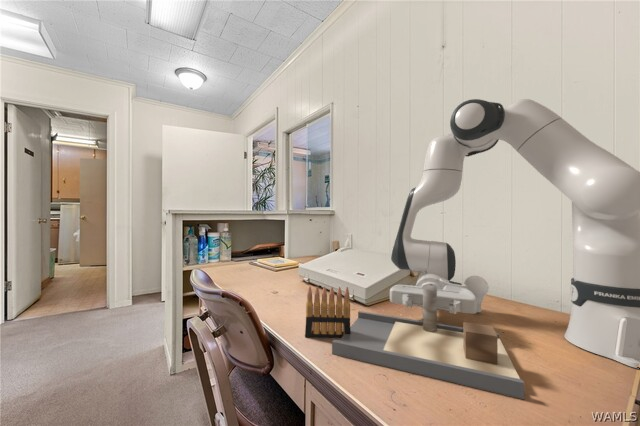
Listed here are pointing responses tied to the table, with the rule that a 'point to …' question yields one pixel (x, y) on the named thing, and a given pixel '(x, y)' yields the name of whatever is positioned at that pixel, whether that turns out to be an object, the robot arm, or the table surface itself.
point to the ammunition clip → (327, 315)
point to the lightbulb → (477, 289)
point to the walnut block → (480, 343)
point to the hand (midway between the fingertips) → (429, 307)
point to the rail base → (372, 339)
